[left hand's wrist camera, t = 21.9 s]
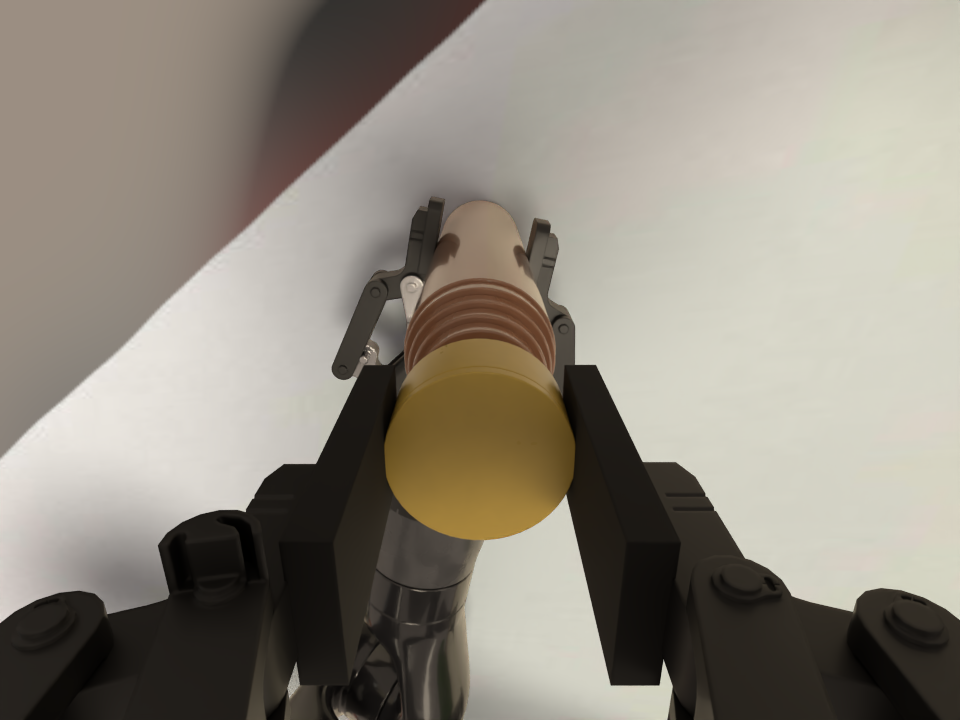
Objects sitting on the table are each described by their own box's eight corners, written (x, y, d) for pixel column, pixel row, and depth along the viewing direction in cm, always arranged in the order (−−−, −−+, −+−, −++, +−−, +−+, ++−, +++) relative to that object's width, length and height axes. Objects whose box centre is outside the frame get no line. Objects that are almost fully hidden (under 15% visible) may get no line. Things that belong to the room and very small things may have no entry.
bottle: (525, 267, 38) (602, 513, 14) (452, 284, 38) (405, 551, 14) (509, 191, 36) (566, 324, 12) (433, 210, 37) (344, 372, 13)
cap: (405, 493, 15) (394, 545, 14) (385, 343, 14) (370, 378, 12) (565, 484, 15) (577, 536, 13) (562, 332, 14) (576, 365, 12)
